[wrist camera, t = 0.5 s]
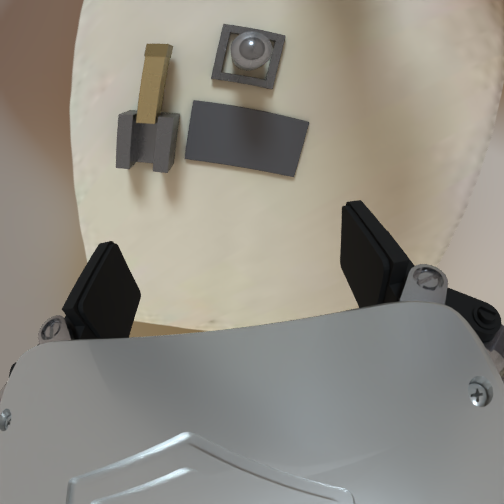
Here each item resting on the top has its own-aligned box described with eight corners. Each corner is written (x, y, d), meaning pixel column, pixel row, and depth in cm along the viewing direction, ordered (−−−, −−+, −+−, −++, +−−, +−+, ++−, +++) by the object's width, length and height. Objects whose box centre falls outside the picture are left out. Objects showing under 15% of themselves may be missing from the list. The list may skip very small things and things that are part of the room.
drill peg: (235, 39, 27) (235, 26, 19) (267, 45, 27) (277, 34, 20) (228, 67, 29) (226, 63, 21) (260, 73, 29) (268, 70, 22)
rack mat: (193, 100, 31) (193, 100, 31) (308, 121, 33) (309, 122, 33) (185, 157, 35) (184, 158, 35) (293, 175, 38) (293, 177, 37)
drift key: (152, 45, 25) (146, 43, 23) (173, 46, 26) (168, 44, 23) (141, 119, 31) (135, 122, 29) (160, 120, 31) (155, 124, 29)
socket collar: (223, 25, 25) (223, 23, 25) (284, 36, 26) (285, 35, 26) (211, 78, 29) (211, 78, 29) (271, 89, 31) (272, 89, 30)
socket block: (129, 110, 31) (118, 114, 27) (180, 113, 32) (173, 117, 29) (126, 158, 35) (115, 167, 31) (173, 163, 36) (167, 172, 32)
